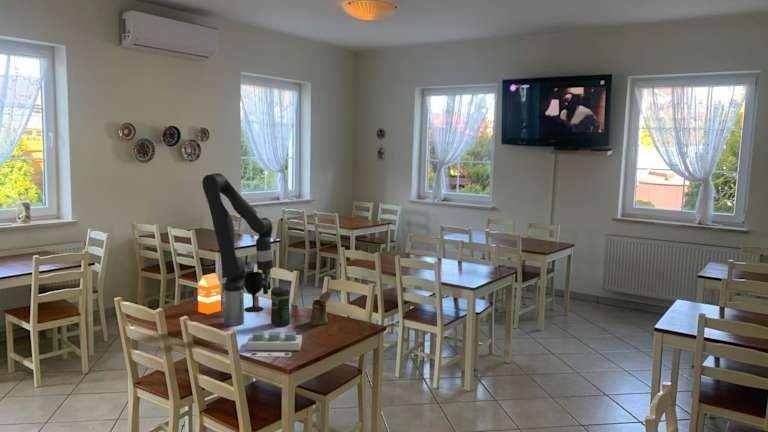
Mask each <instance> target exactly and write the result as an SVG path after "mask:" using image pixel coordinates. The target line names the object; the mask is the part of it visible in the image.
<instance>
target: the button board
mask: <svg viewBox="0 0 768 432" xmlns="http://www.w3.org/2000/svg"><path fill="white" fill-rule="evenodd" d="M264 338H265V339H264V341H253V334H250V335H249V337H248V339H247V340H246V341H245V351H246V350H248V352H250V351H251V352H273V351H274V352H300V351H301V347H302V344H303V334H296V341H285V334H280V341H269V334H264Z"/></svg>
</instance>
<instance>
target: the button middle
mask: <svg viewBox="0 0 768 432" xmlns="http://www.w3.org/2000/svg"><path fill="white" fill-rule="evenodd" d="M268 335H269V341H280V335H281V331H270V332H269V333H268Z"/></svg>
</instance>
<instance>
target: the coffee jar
mask: <svg viewBox="0 0 768 432" xmlns="http://www.w3.org/2000/svg"><path fill="white" fill-rule="evenodd" d="M290 297H291V292H290V289H288V288H283V287H280V286H275V287H271V289H270V299H271V310H270V311H271V313H270V323H271V325H274V326H276V327H286V326H289V325H290V324H291V313H290Z"/></svg>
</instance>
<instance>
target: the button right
mask: <svg viewBox="0 0 768 432" xmlns="http://www.w3.org/2000/svg"><path fill="white" fill-rule="evenodd" d="M284 335H285V341H296V335H297V331H285V334H284Z"/></svg>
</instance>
